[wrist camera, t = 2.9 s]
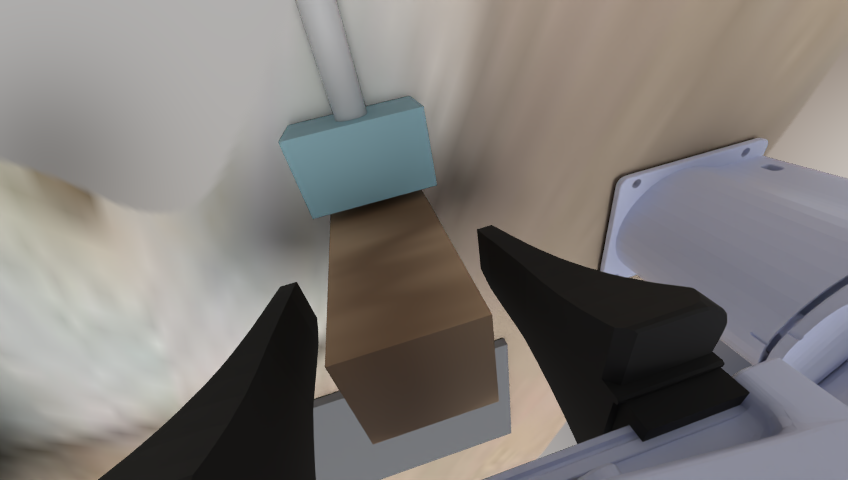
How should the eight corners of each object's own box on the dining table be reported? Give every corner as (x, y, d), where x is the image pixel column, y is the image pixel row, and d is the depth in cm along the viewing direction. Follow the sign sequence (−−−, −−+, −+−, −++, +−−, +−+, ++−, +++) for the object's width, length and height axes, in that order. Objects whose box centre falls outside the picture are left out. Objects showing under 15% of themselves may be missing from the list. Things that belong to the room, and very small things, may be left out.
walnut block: (414, 177, 15) (492, 314, 7) (428, 244, 17) (499, 401, 10) (331, 199, 14) (325, 367, 7) (357, 265, 17) (373, 444, 9)
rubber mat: (503, 338, 23) (507, 344, 22) (508, 426, 31) (511, 433, 30) (258, 417, 21) (256, 426, 21) (329, 490, 29) (329, 497, 29)
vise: (378, -139, 9) (390, -190, 7) (452, 286, 19) (466, 316, 17) (176, -105, 9) (126, -150, 7) (359, 314, 18) (362, 349, 16)
